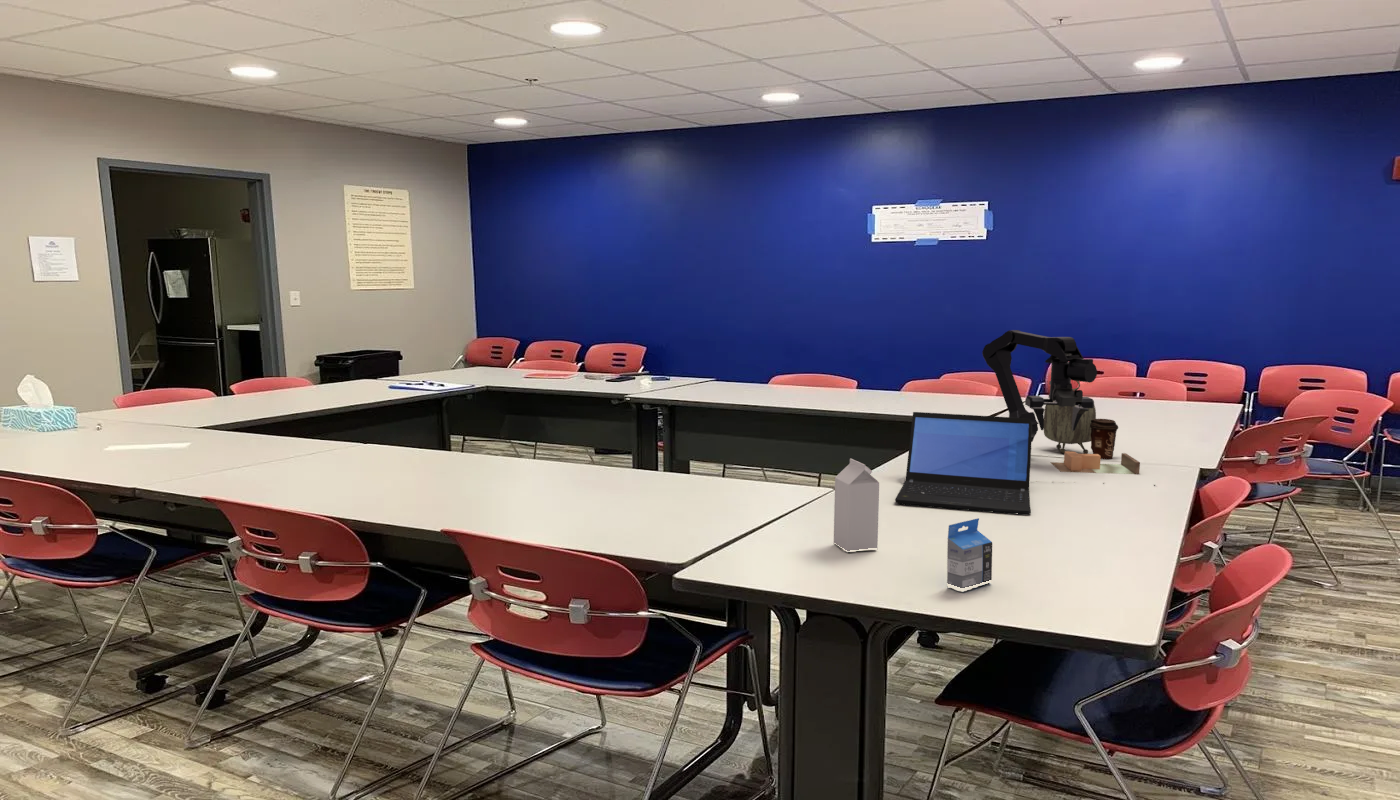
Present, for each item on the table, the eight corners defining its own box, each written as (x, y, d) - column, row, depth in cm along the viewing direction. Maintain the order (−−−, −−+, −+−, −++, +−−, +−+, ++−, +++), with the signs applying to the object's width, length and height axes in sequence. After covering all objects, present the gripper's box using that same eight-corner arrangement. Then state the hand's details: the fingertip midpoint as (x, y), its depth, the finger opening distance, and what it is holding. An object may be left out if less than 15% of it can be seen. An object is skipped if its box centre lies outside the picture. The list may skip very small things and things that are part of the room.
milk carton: (847, 553, 200) (849, 465, 197) (833, 544, 206) (835, 459, 204) (877, 551, 202) (880, 464, 199) (862, 542, 208) (865, 457, 206)
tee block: (1070, 470, 280) (1071, 457, 280) (1063, 464, 289) (1064, 451, 289) (1102, 471, 279) (1103, 457, 278) (1094, 465, 288) (1095, 452, 287)
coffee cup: (1081, 459, 303) (1083, 418, 301) (1099, 456, 306) (1102, 417, 304) (1102, 464, 295) (1105, 422, 293) (1122, 461, 298) (1124, 421, 296)
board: (1060, 474, 278) (1061, 459, 278) (1049, 465, 292) (1050, 451, 292) (1139, 477, 275) (1139, 462, 275) (1124, 467, 289) (1125, 453, 288)
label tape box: (962, 593, 175) (965, 529, 174) (944, 587, 178) (947, 524, 177) (992, 584, 180) (995, 522, 179) (974, 579, 184) (977, 517, 182)
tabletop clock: (1094, 455, 309) (1098, 379, 306) (1075, 457, 305) (1080, 380, 302) (1057, 447, 322) (1061, 374, 318) (1039, 450, 317) (1043, 376, 314)
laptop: (893, 506, 242) (895, 432, 239) (910, 476, 277) (912, 411, 274) (1030, 517, 231) (1034, 439, 228) (1030, 485, 266) (1033, 417, 264)
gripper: (1036, 381, 275) (1033, 434, 277) (1102, 382, 274) (1098, 435, 276) (1026, 377, 286) (1023, 428, 288) (1089, 378, 285) (1085, 429, 287)
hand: (1057, 430), depth 285 cm, fingers open, 9 cm apart
